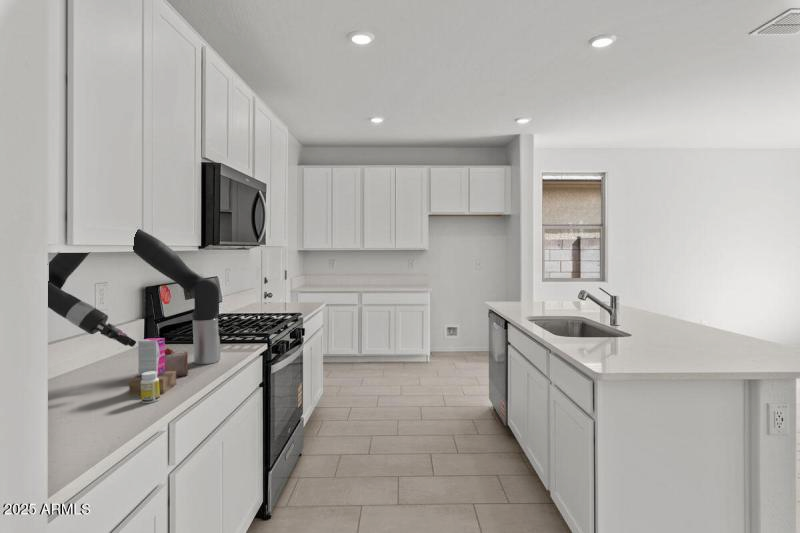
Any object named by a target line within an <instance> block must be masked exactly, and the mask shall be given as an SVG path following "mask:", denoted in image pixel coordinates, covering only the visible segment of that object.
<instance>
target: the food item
mask: <svg viewBox="0 0 800 533" xmlns="http://www.w3.org/2000/svg"><path fill="white" fill-rule="evenodd" d="M188 360H189V359H188V351H185V350H181V351H173V349H171V348H169V347H167V348H165V371H176V378H177V377H178V378H179V377H185V376H188V375H189V362H188Z"/></svg>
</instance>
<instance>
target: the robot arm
mask: <svg viewBox="0 0 800 533" xmlns="http://www.w3.org/2000/svg"><path fill="white" fill-rule="evenodd" d="M133 250H134V251H133V253H135V255H137V256H138V257H139V258H140V259H142V260H143V261H144V262H145V263H146V264H148V265H149V266H150V267H152V268H153V269H155V270H156V271H158V272H159V273H160V274H162V275H163V276H165V277H167V278H168V279H170V280H172V281H173V282H175V284H178V285H179V286H180V288H182V290H184V291H185V292H186V293H187V294H188V295H189V296H190V297H191V298H192V299H194V309H193V312H192V335H193V338H192V340H193V360H194V361H193V363H194V364H195V365H211V364H214V363H218V362H220V360H221V338H220V337H221V336H220V335H219V311H220V289H219V286H218V284H217V283H216V282H215V281H214V280H212V279H209V278H205V277H202V276H201V275H200V274H198V273H196V271H193V270H192V269H191V268H190V267H189V266H187V265H186V263H185V262H184V260H183V259H182V258H181V257H180V256H179V255H178V254H177V252H175V251H174V250H173V249H172V248H170V247H169V246H168V245H167V244H165V243H164V242H163V241H161V240H160V239H158V238H157V237H155V236H153V235H151V234H150V233H148V232H145V230H142V229H140V228H139V229H138V230H137V232H136V234H135V237H134V246H133ZM89 254H91V252H89V253H59V252H57V254H55V256H54V257H53V258H52V259H51V260H50V261H49V262H48V263H49V281H48V307H47V308H49V309H51V310H52V311H53V312H54V313H55V314H57V315H58V316H60V317H63V318H64V319H65V320H67V321H69V323H71V324H72V325H74V326H76V327H77V328H79V329H81V330H82V331H84V332H86V333H88V334H90V335H95V334H96V333H98V332H99V333H100V334H101V335H102V336H104V337H107V338H108V339H110V340H111V339H112V340H114V341H117V342H118V343H119V344H122V345H123V346H130V347H131V348H132V347H134V346H135V345H136V344H137V341H136V340H135V339H133V338H131V337H130V336H128V335H127V333H124V332H123V331H122V329H120V328H117V327H116V326H115V325H113V324H112V323H110V322H108V319H109V315H108V314H106V313H105V312H103V311H102V310H100V309H98V308H96V307H94V306H93V305H91V304H90V303H87V302H85V301H83V300H81V299H79V298H78V297H76V296H74V295H72V294H70V293H69V292H66V291H65V290H63V287H64V285H65V283H66V281H67V280H68V278H69V277H70V276H72V274H73V273H74V272H75V270H76V269H78V267H79V266H80V265H81V264H82V263H83V262H84V260H86V258H87V257H88V256H89ZM107 322H108V324H107Z"/></svg>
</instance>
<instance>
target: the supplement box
mask: <svg viewBox="0 0 800 533" xmlns="http://www.w3.org/2000/svg"><path fill="white" fill-rule="evenodd" d="M165 341H166V338H164V337H160V338H158V337H157V338H154V337H152V338H150V337H149V338H145V339H144V338H143V339H141V340H138V342H137V343H138V345H137V346H138V348H137V349H138V356H137V357H138V375H139V376H138V375H137V376H138V377H142V373H144V372H149V371H156V372H157V376H158V375H160V374H162V373H165V350H166V348H165V347H166V346H165V345H166V342H165Z"/></svg>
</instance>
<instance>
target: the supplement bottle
mask: <svg viewBox="0 0 800 533" xmlns="http://www.w3.org/2000/svg"><path fill="white" fill-rule="evenodd" d="M142 379H143V380H141V395H140V397H141V403H142V404H152V403H156V402H158V401H159V400H160V398H161V394H160V391H159V379H158V378H157V372H156V371H149V372H144V373H142Z"/></svg>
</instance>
